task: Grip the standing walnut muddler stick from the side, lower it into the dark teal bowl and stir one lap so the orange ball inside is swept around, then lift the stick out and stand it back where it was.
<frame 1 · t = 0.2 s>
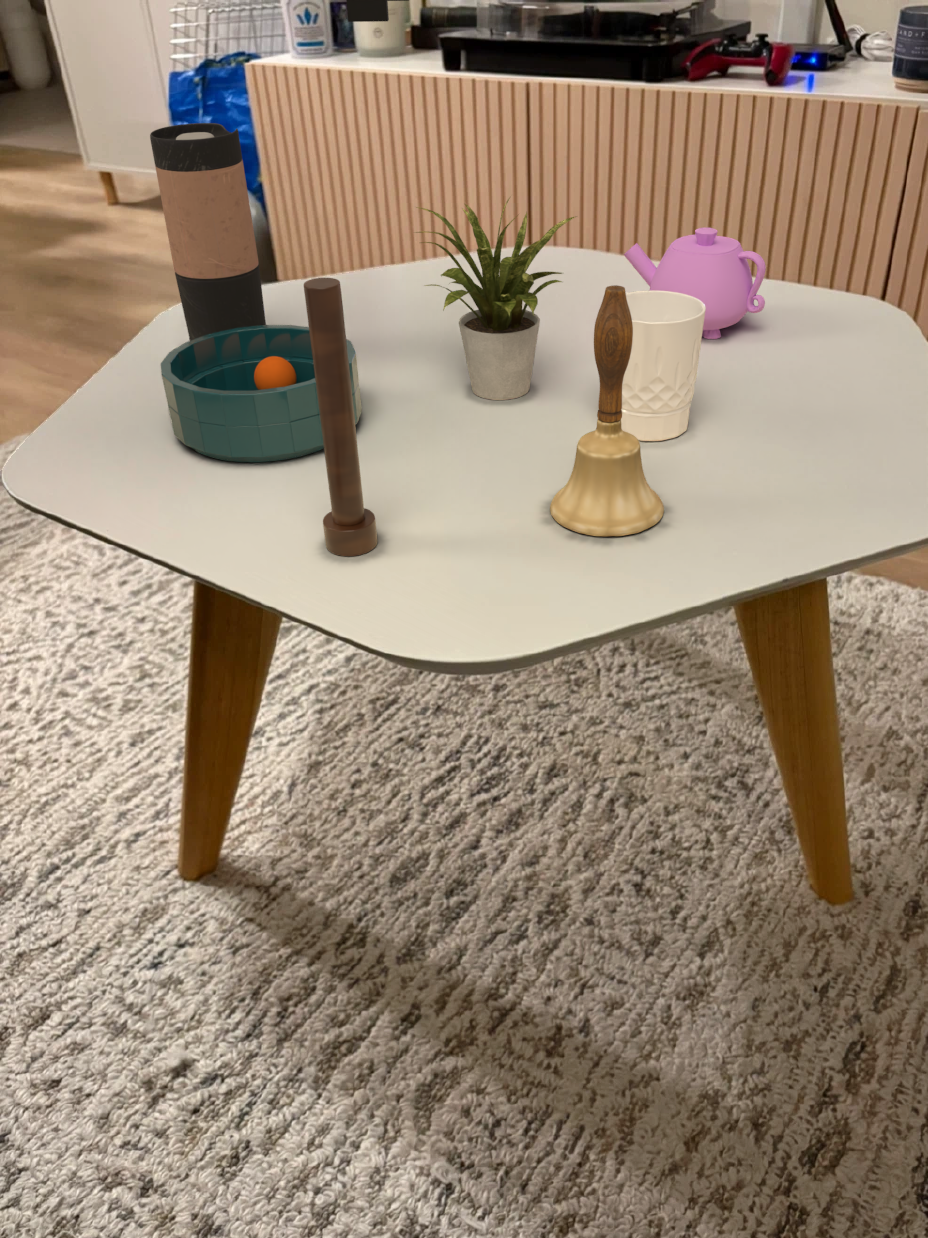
hand: (381, 10, 81), 30 cm above the table, tool pointing down, fingers open, 13 cm apart
orange ball: (275, 377, 95), point 3 cm above the table, touching bowl
travel mug: (232, 359, 107), on the table
bowl: (269, 425, 94), on the table
white cup: (647, 427, 92), on the table
muddler: (351, 543, 77), on the table
teapot: (689, 325, 112), on the table
hand bell: (606, 512, 81), on the table
house plant: (485, 390, 99), on the table
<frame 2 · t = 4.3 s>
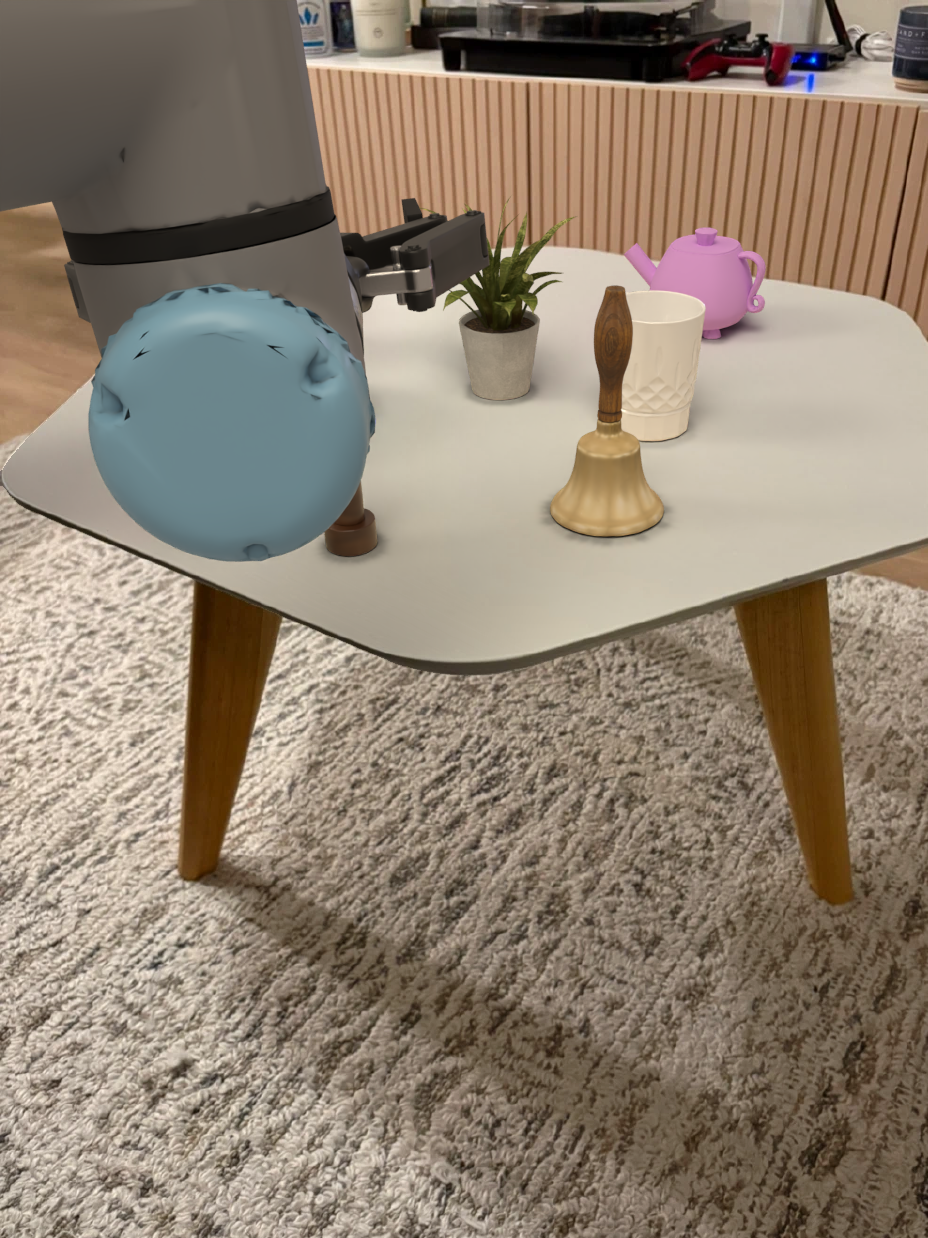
hand: (288, 239, 60), 22 cm above the table, tool horizontal, fingers open, 13 cm apart
nothing on the table moved.
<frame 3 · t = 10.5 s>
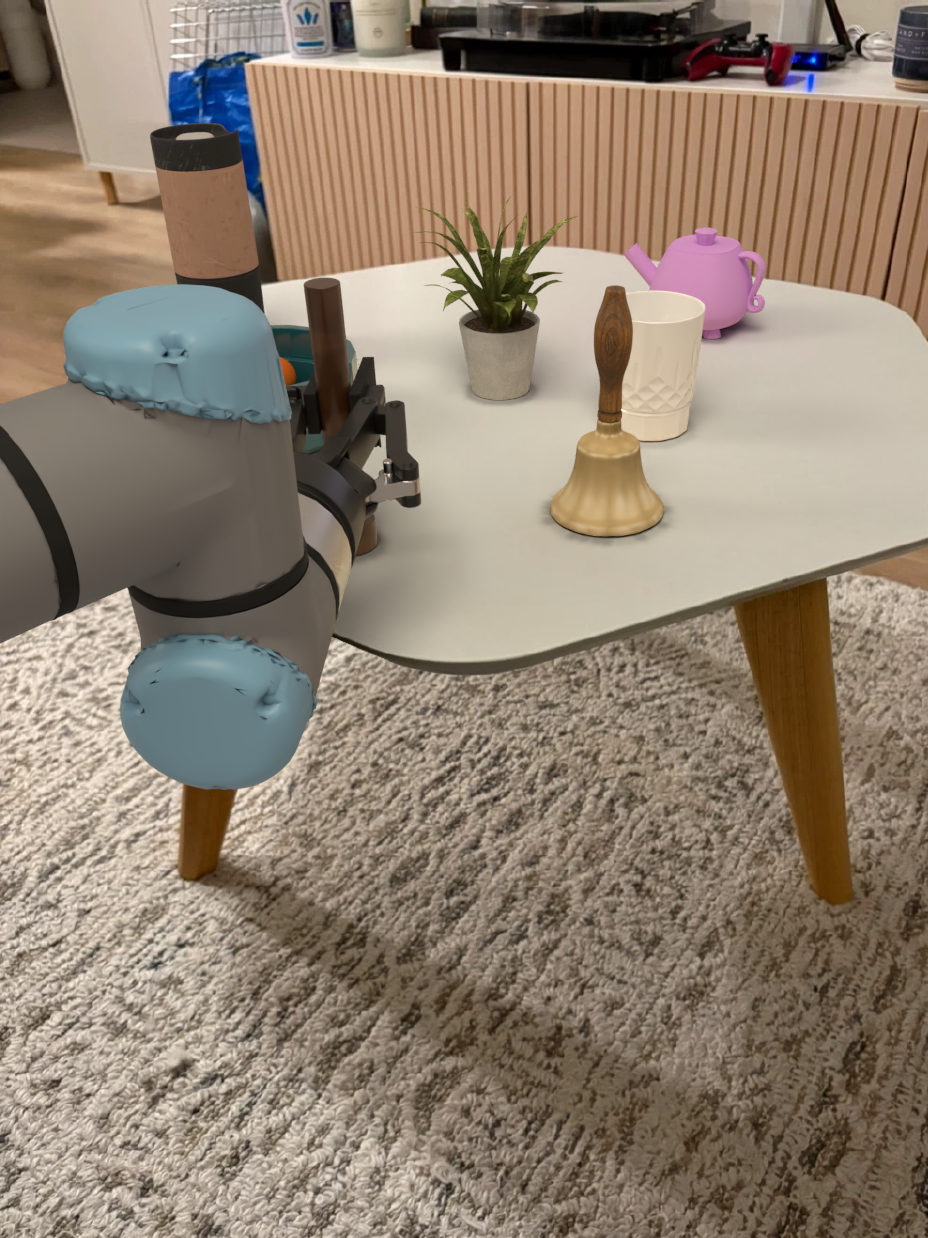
hand: (349, 376, 76), 10 cm above the table, tool horizontal, fingers closed on muddler, 2 cm apart
muddler: (351, 543, 77), on the table, touching gripper
everything else where it was.
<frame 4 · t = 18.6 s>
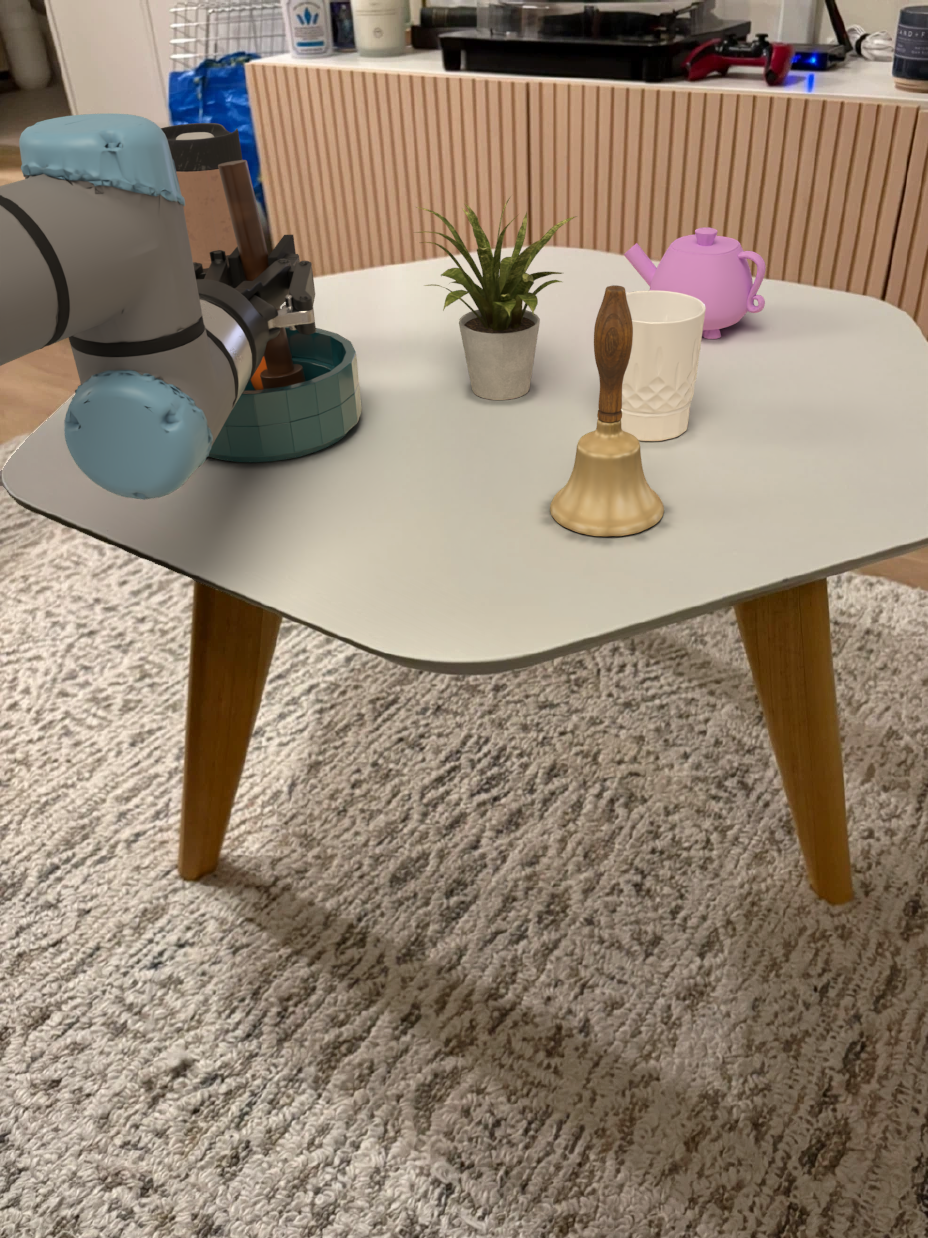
hand: (272, 251, 92), 12 cm above the table, tool horizontal, fingers closed on muddler, 2 cm apart
orange ball: (271, 376, 96), point 3 cm above the table, tilted 11°, touching bowl, muddler
muddler: (286, 393, 93), point 2 cm above the table, tilted 8°, touching gripper, orange ball
everything else where it was.
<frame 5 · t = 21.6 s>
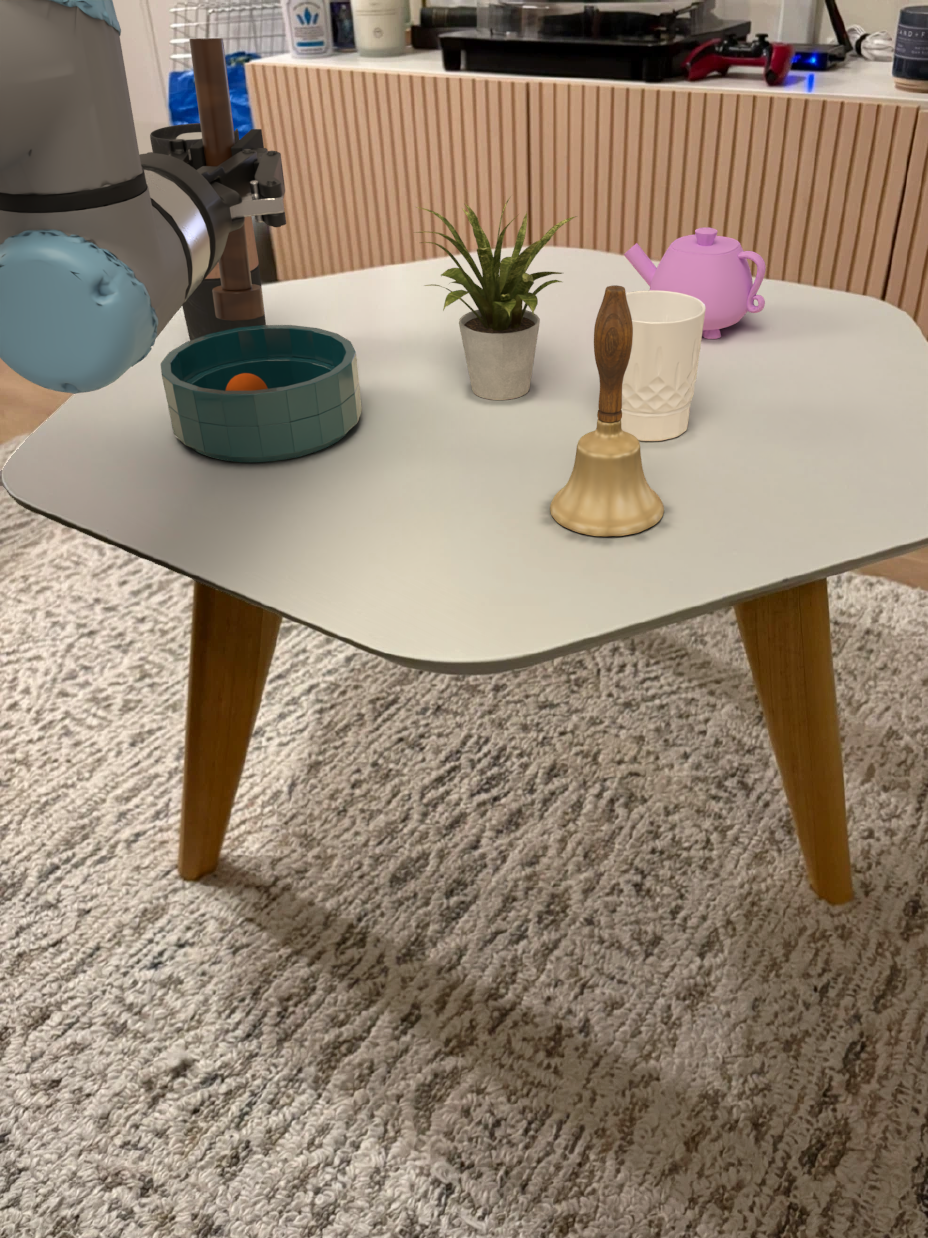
hand: (239, 148, 82), 21 cm above the table, tool horizontal, fingers closed on muddler, 2 cm apart
orange ball: (247, 395, 92), point 3 cm above the table, tilted 116°, touching bowl
muddler: (240, 315, 83), point 11 cm above the table, tilted 7°, touching gripper
everything else where it was.
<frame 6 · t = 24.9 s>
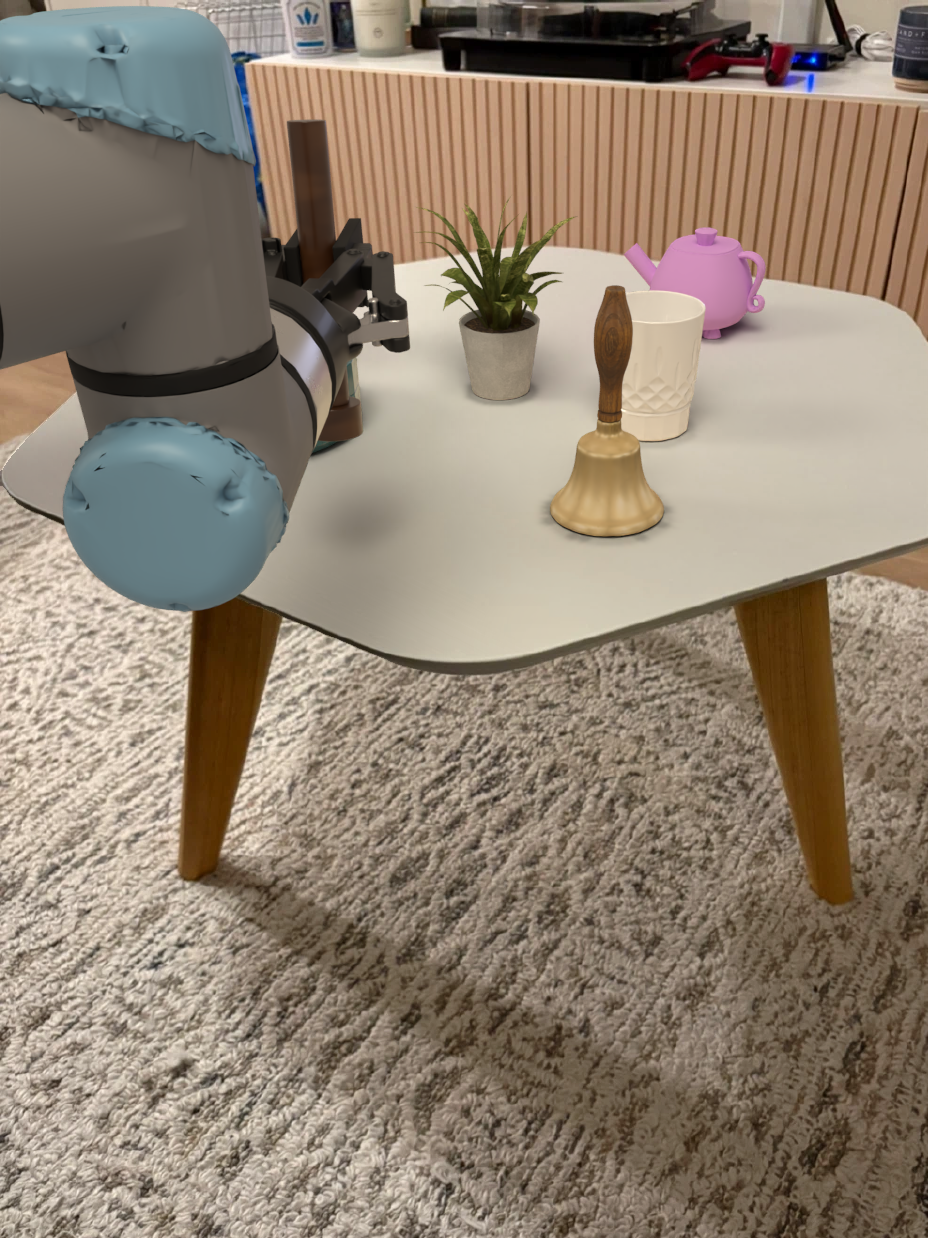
hand: (334, 240, 70), 19 cm above the table, tool horizontal, fingers closed on muddler, 2 cm apart
orange ball: (233, 416, 89), point 3 cm above the table, tilted 103°, touching bowl
muddler: (335, 433, 71), point 9 cm above the table, tilted 7°, touching gripper
everything else where it was.
when the fingers open (10 cm above the table, at t = 27.3 s): muddler stays where it is, on the table.
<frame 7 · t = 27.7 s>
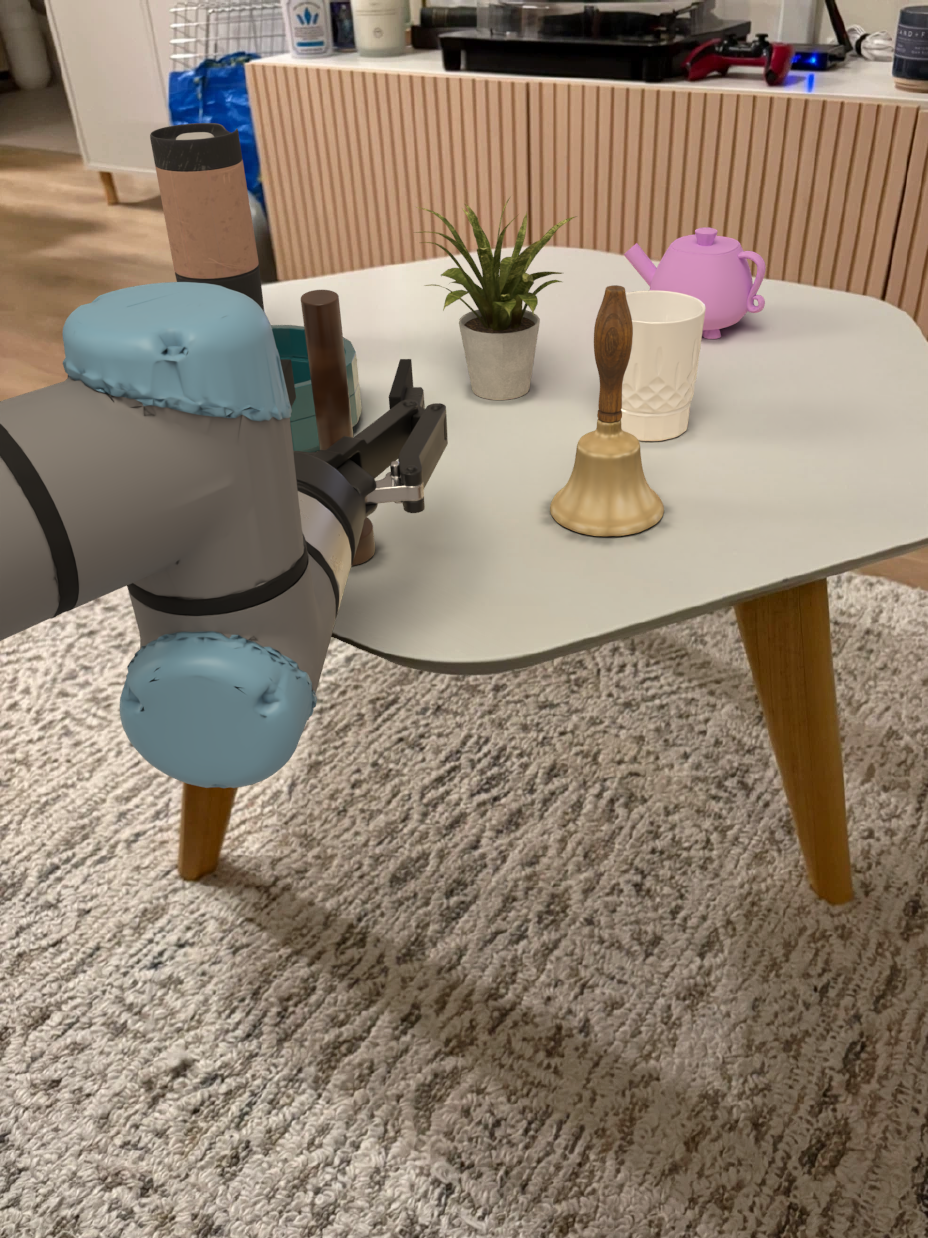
hand: (347, 378, 75), 10 cm above the table, tool horizontal, fingers open, 7 cm apart
orange ball: (243, 409, 90), point 3 cm above the table, tilted 145°, touching bowl
muddler: (349, 551, 76), on the table, tilted 5°
everything else where it was.
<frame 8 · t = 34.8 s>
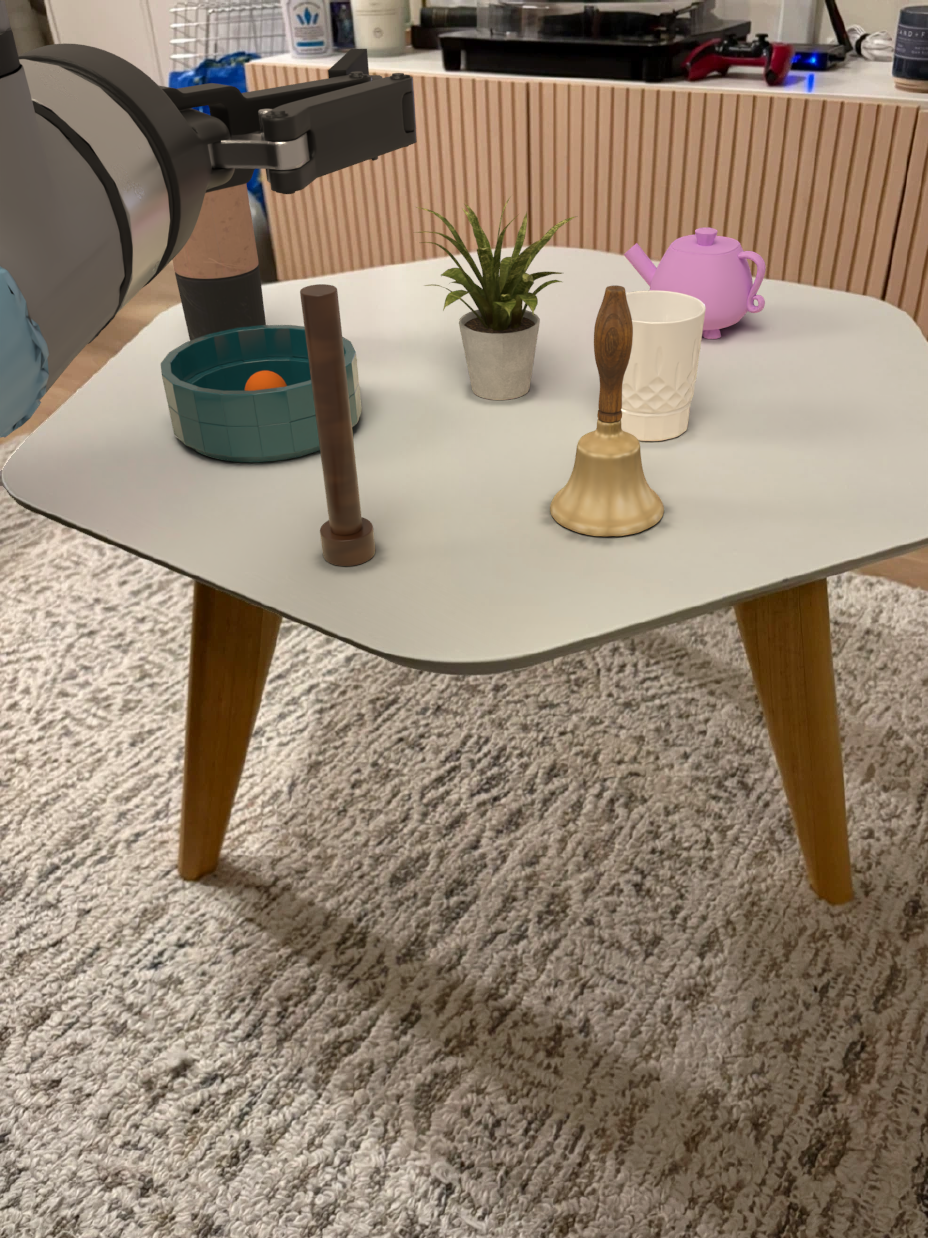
hand: (219, 82, 52), 30 cm above the table, tool horizontal, fingers open, 13 cm apart
orange ball: (266, 392, 93), point 3 cm above the table, tilted 89°, touching bowl
muddler: (349, 553, 76), on the table
everything else where it was.
at the end: orange ball moved 3.3 cm from its start; orange ball inside the target area in the bowl (0.9 cm from its centre), point 2.6 cm above the bowl's base; muddler inside the target area (1.3 cm from its centre), on the table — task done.
